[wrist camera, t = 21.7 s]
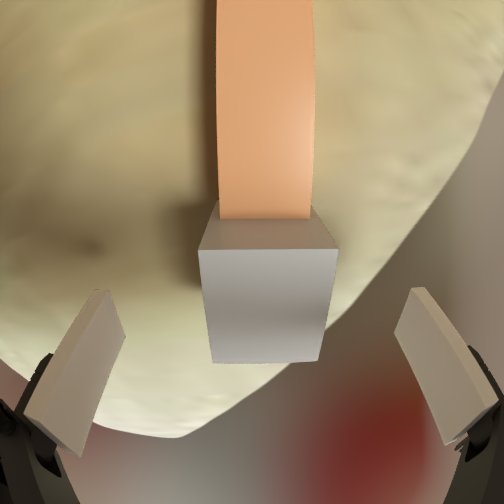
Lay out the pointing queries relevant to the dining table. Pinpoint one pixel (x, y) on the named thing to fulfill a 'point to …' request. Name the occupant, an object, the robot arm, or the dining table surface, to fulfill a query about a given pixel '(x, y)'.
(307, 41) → the orange bar on cube
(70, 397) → the robot arm
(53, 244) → the dining table surface
